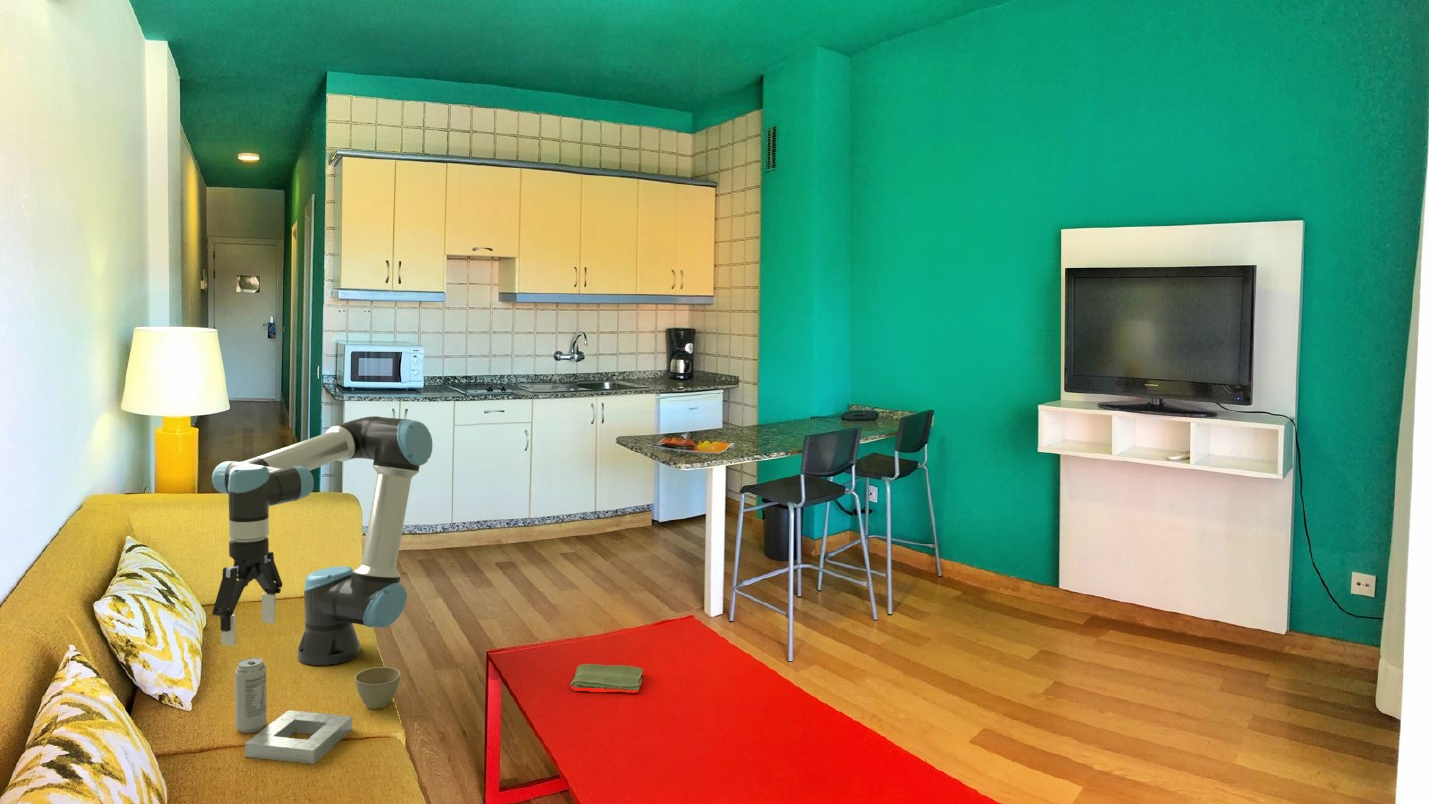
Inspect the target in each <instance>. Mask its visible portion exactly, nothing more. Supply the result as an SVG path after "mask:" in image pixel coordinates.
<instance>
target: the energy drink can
mask: <svg viewBox="0 0 1429 804" xmlns="http://www.w3.org/2000/svg"><path fill="white" fill-rule="evenodd" d="M234 695H235V696H234V699H235V700H234V702H235V703H234V705H235V712H234V713H235V718H234V719H235V728H236V729H238V731H239V732H240V733H241V734H242V733H243V734H250V733H255V732H258V731H261V730H263V729H264V728H265V727H264V726H265V725H266V723H267V666H266V665H265V664H264V660H263V658H260V657H249V658H245V659H242V660H239V662H238V663H237V667H236V668H235V671H234Z"/></svg>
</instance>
